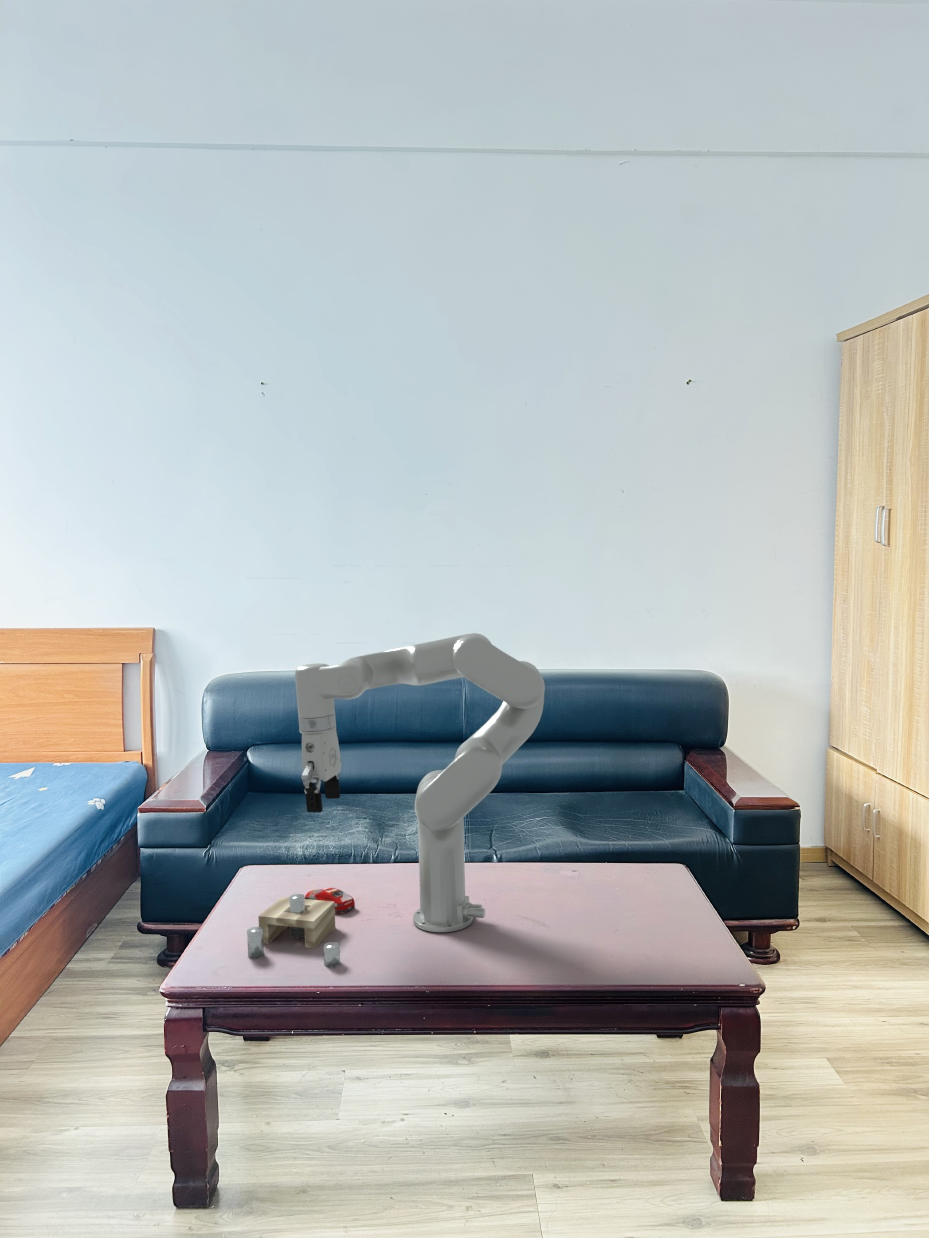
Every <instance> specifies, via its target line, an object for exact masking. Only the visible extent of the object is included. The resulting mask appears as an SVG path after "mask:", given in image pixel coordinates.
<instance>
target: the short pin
mask: <svg viewBox="0 0 929 1238" xmlns="http://www.w3.org/2000/svg"><path fill="white" fill-rule="evenodd" d="M340 947H341V946H340V943H339V942H336V941H335V942H334V941H330V942H326V943H324V944H323V965H324V966H325V967H327V968H334V967H338V966H339V965H340V964H341V951H340V950H341V949H340Z"/></svg>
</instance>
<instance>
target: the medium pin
mask: <svg viewBox="0 0 929 1238" xmlns="http://www.w3.org/2000/svg"><path fill="white" fill-rule="evenodd" d="M246 933H247V934H246V937H247V940H246V941H247V957H248V958H249V959H252V958H253V959H254V958H256V959H260V958H261V957H264V956H265V949H264V947H265V943H264V941H263V928H262V927H259V926H253V927H250V928H248V929H247V930H246ZM253 959H252V960H253ZM254 960H255V959H254Z"/></svg>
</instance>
